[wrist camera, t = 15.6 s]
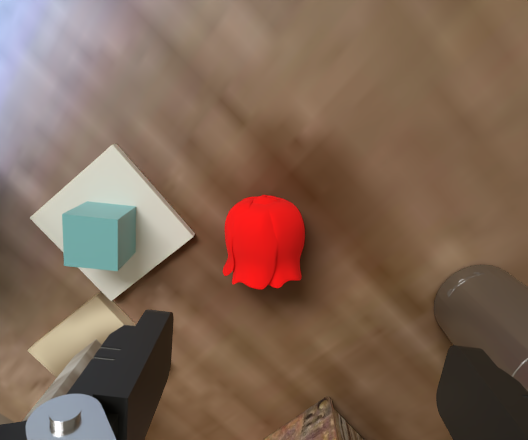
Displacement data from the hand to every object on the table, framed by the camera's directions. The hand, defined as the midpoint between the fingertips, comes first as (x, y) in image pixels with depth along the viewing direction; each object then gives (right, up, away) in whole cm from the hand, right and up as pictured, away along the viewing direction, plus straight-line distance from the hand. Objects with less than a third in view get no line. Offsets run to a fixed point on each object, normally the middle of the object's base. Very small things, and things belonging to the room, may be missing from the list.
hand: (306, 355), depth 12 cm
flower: (-1, +3, +31) cm, 31 cm away
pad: (-17, +3, +31) cm, 35 cm away
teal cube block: (-17, +3, +30) cm, 34 cm away
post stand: (-20, -11, +35) cm, 42 cm away
